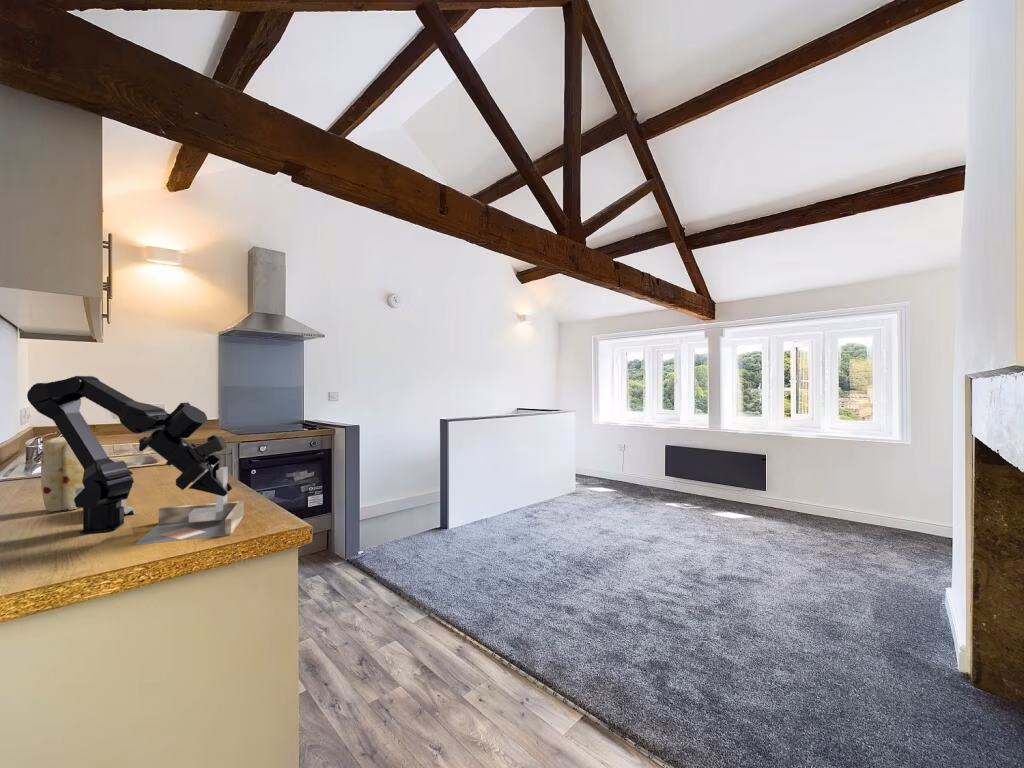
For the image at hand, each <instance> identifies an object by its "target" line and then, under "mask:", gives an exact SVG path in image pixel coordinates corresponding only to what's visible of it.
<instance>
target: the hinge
mask: <svg viewBox="0 0 1024 768" xmlns="http://www.w3.org/2000/svg"><path fill="white" fill-rule="evenodd" d="M84 488H85V487H84V485H83V486H81V487H79V488H78V489H76V490H75V492H76V495H78V494H79V493H80V492H81V491H82V490H83V489H84ZM121 506H123V507H124V515H127V514H130V513H132V514H131V515H137V512H136V509H135V508H134V507H131V506H128V505H127V503H126V501H125V499H123V500H121Z"/></svg>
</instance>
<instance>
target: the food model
mask: <svg viewBox="0 0 1024 768" xmlns="http://www.w3.org/2000/svg"><path fill="white" fill-rule="evenodd" d="M42 445H43V446H42V452H41V453H42V454H41V462H40V484H41V487H40V488H41V493H42V494H41V495H42V501H43V504H44V507H45V510H46V511H47V512H60V511H61V510H63V511H74V510H73V509H75V510H77V509H78V508H77V507H76V505H75V502H74V498H75V497H76V496H77V495H76V492H75V490H76V489H78V488H79V487H81V486H83V483H82V479H83V474H84V468H83V467H82V465H81V464H80V462H79V460H78V459H77V457H76V456H75V454H74V452H73V451H72V449H71V448H70V446H69V445H68V443H67V441H66V440H65V438H64V437H63V436H60V437H53V438H50V439H48V440H46V441H45V442H43V444H42ZM67 509H68V510H67Z"/></svg>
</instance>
